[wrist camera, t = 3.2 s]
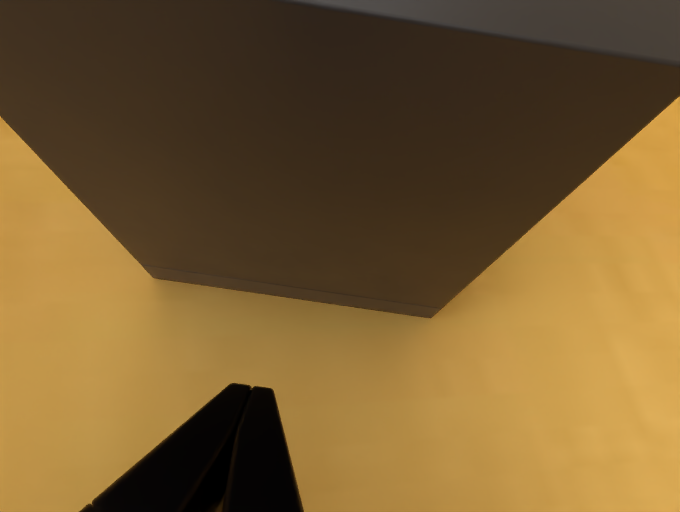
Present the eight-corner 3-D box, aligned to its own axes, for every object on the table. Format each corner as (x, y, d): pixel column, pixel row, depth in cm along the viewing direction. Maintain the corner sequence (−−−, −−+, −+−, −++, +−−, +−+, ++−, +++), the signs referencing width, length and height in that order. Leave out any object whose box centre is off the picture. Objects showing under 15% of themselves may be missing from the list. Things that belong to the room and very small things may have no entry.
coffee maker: (431, 318, 18) (712, 69, 6) (152, 278, 17) (-187, -79, 5) (444, 54, 23) (602, -367, 11) (231, 20, 23) (151, -453, 11)
